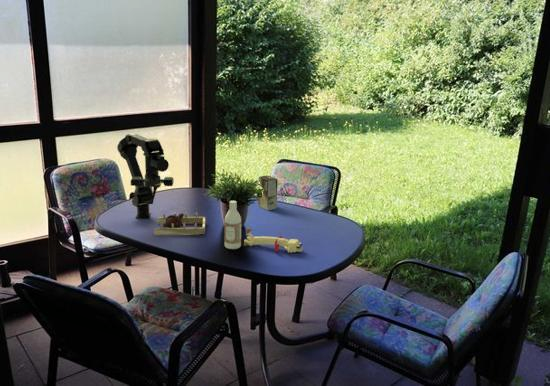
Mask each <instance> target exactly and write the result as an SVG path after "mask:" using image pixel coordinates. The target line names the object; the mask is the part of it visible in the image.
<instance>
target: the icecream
mask: <svg viewBox="0 0 550 386" xmlns="http://www.w3.org/2000/svg"><path fill="white" fill-rule="evenodd" d="M166 217H167V218H166V223H165V224H162V228H172V224H174V228H181V227H180V226H181V225H182V224H181V223H182V221H181V218H182V217H185V213H183V212H182V213H181V212H180V213H179V214H178V215H177V214H176V215H174V214H171V215H168V216H166Z"/></svg>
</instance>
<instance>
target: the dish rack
mask: <svg viewBox="0 0 550 386" xmlns="http://www.w3.org/2000/svg"><path fill="white" fill-rule="evenodd" d="M173 215H176V216H177V212H174V213H173ZM198 215H199V214H198V212H195V216H188V214H187V212H185V213H184V216H183V217H182V218H181V221H182V223H181V225H182V226H183V227H178V228H174V224H172V228H167V227H163V225H164V224H165V223H166V218H167V217H168V216H166V213H165V212H164V213H163V215H162V217H161V216H158V217H157V224H158V225H159V227H156V228H153V229H154V233H153V235H154V236H195V235H196V236H197V235H198V236H200V235H199V234H203V235H202V236H204V234H205V235H206V216H198ZM194 223H195V224H194ZM186 224H191V225H192V224H193V225H194V227H186ZM198 224H202V227H198V226H197V225H198Z"/></svg>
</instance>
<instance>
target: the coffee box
mask: <svg viewBox="0 0 550 386" xmlns="http://www.w3.org/2000/svg"><path fill="white" fill-rule="evenodd" d="M258 181H260V185H261V187H262V188H263V190H264V191H263V196H262V197H261V198H258V197H257V200H258V201H257V202H258V203H257V206H258V207H260V208H262V209H264V210H265V211H270V210H271V211H272V210H276V209H277V208H278V205H277V204H278V179H277V178H275V177H273V176H270V175H261V176H258Z"/></svg>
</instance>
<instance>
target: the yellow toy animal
mask: <svg viewBox="0 0 550 386" xmlns="http://www.w3.org/2000/svg"><path fill="white" fill-rule="evenodd" d="M251 232H252V228H251V227H248V228H246V231H245V234H246V236H247V237H246V239H244V240H243V246H244V247H247V246H257V245H259V246H264V245H268V246H274V252H275V253H277V252H278V251H279V250H280V248H281V247H282V248H284V250H287V253H296V252H298V253H299V252H300V253H301V252H302V251H303V249H304V247H302V246H303V243H302V242H300V241H299V240H298V239H297V238H296V239H295V238H290V239H286V238H285V237H283V236H282V235H281V234H279V237H280V238H279V237H278V236H277V237H276V236H264V235H261V236H254V235H253V234H252V233H251Z"/></svg>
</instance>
